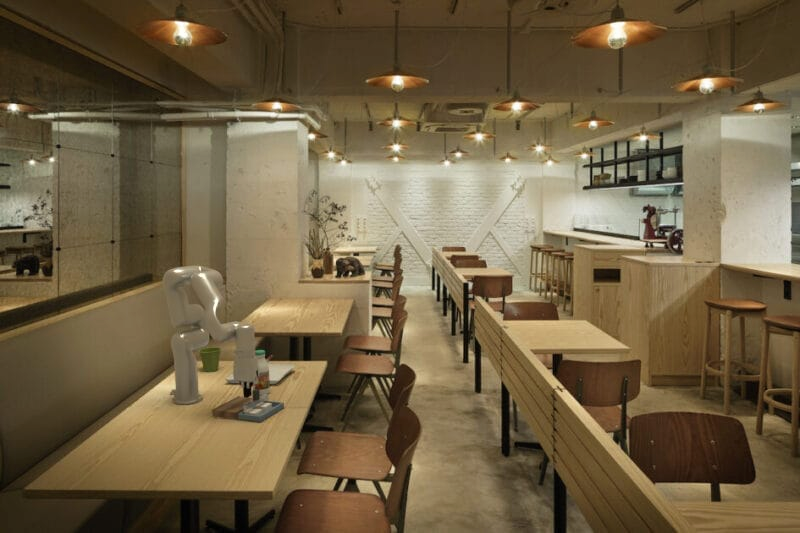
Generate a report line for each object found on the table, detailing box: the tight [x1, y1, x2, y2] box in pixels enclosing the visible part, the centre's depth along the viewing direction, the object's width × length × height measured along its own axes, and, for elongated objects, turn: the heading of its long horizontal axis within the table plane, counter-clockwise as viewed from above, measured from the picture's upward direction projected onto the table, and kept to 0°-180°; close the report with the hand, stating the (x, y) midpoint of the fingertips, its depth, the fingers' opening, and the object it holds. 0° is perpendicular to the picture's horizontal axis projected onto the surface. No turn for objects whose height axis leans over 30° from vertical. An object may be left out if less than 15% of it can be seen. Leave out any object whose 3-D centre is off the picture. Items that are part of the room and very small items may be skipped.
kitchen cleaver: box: [265, 354, 275, 363], centre depth 332 cm, size 24×1×10 cm
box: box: [237, 400, 285, 423], centre depth 248 cm, size 11×18×2 cm, turn 160°
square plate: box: [224, 363, 296, 385], centre depth 301 cm, size 27×27×4 cm
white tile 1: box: [245, 409, 262, 416], centre depth 245 cm, size 5×5×2 cm
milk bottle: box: [252, 349, 271, 396], centre depth 275 cm, size 8×8×20 cm
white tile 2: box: [255, 403, 272, 412], centre depth 252 cm, size 5×5×2 cm
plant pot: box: [197, 346, 222, 373], centre depth 316 cm, size 12×12×11 cm
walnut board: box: [211, 396, 253, 421], centre depth 252 cm, size 12×18×3 cm, turn 160°
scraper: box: [243, 389, 270, 412], centre depth 248 cm, size 2×16×7 cm, turn 160°
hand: (247, 396), depth 250 cm, fingers closed
